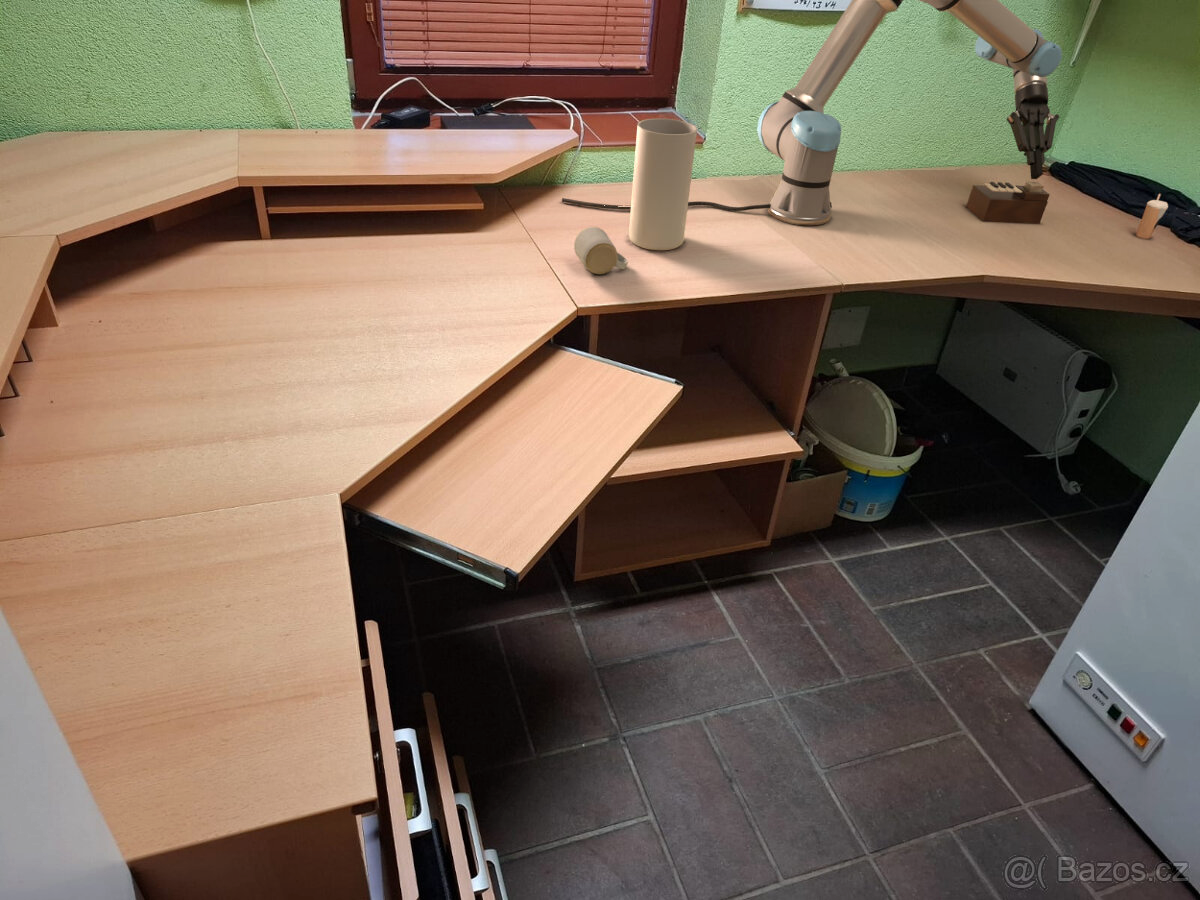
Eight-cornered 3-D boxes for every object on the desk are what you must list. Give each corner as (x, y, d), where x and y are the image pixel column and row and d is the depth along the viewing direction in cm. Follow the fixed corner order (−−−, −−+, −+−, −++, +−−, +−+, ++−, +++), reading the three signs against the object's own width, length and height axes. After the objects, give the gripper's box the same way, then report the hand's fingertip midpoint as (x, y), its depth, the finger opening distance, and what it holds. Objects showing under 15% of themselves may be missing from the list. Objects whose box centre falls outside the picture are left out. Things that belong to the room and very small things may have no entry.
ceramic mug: (585, 278, 166) (587, 242, 161) (572, 262, 172) (574, 227, 167) (633, 274, 169) (636, 239, 164) (619, 258, 175) (622, 224, 171)
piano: (983, 221, 208) (993, 192, 203) (965, 206, 216) (975, 178, 212) (1039, 223, 209) (1050, 194, 204) (1020, 208, 217) (1030, 180, 213)
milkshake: (1151, 234, 207) (1170, 195, 201) (1153, 241, 203) (1172, 201, 197) (1132, 230, 208) (1149, 192, 202) (1133, 237, 204) (1151, 198, 198)
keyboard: (992, 191, 204) (993, 188, 203) (983, 184, 208) (984, 181, 207) (1022, 192, 204) (1023, 189, 204) (1012, 185, 208) (1014, 182, 208)
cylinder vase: (694, 242, 185) (709, 128, 170) (660, 256, 177) (672, 138, 162) (651, 226, 191) (662, 115, 177) (617, 239, 184) (625, 124, 169)
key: (1028, 193, 206) (1031, 185, 204) (1023, 189, 208) (1026, 181, 207) (1041, 193, 206) (1044, 186, 205) (1035, 189, 208) (1038, 182, 207)
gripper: (1046, 100, 213) (1052, 184, 209) (998, 98, 212) (1003, 182, 208) (1064, 83, 205) (1071, 170, 202) (1014, 80, 205) (1020, 168, 201)
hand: (1037, 176), depth 205 cm, fingers closed
